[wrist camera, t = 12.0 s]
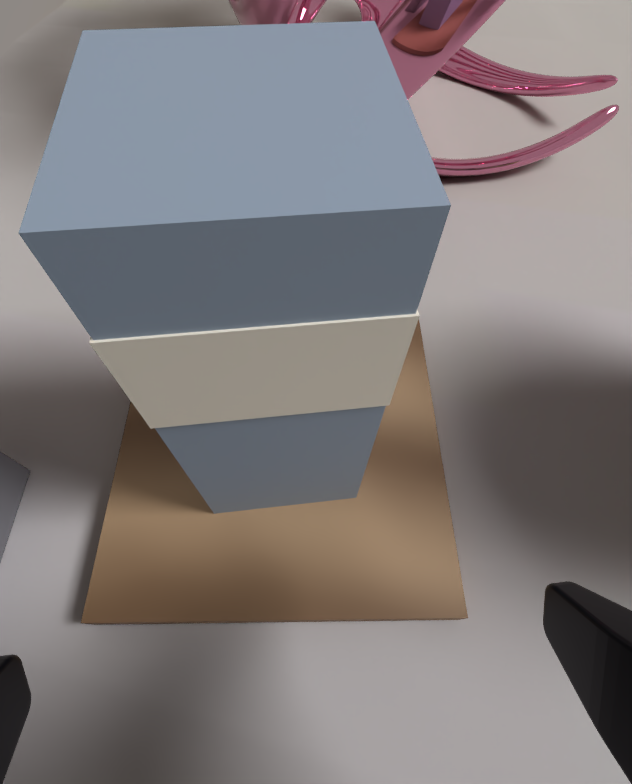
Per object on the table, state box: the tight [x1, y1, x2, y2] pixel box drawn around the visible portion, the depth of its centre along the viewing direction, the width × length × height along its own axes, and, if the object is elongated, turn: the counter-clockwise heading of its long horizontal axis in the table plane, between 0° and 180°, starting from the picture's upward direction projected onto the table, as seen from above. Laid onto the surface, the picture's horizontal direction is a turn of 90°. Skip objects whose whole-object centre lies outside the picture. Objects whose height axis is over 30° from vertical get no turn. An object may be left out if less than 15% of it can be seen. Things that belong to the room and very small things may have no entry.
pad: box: [81, 319, 468, 625], centre depth 17 cm, size 12×12×1 cm
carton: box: [19, 21, 451, 514], centre depth 12 cm, size 5×5×12 cm
